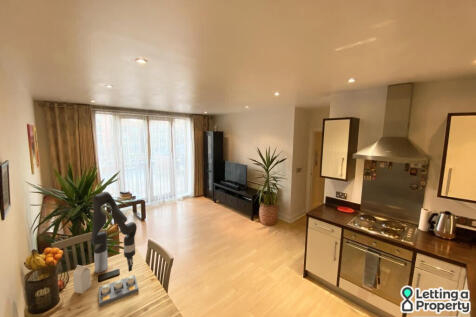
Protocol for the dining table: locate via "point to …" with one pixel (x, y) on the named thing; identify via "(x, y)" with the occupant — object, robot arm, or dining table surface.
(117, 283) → the button
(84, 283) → the milk carton
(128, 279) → the button
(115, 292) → the button board
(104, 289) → the button
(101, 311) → the dining table surface
